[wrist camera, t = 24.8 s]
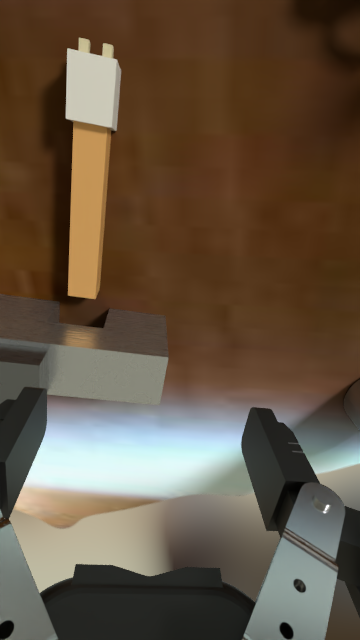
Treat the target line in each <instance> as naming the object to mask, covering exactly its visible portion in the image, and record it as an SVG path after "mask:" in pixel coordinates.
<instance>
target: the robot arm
mask: <svg viewBox="0 0 360 640" xmlns="http://www.w3.org/2000/svg"><path fill="white" fill-rule="evenodd" d="M344 410H345V412H346V413H347V415H348V416H349V417H350V419H351V420H352V421H353V423H354V424H355V425H356V427H357V428H358V429H359V430H360V380H358V381H357V382H356V383H354V384H353V385H352V386H351V388H350V389H349V390H348V392H347V393H346V395H345V398H344ZM46 424H47V390H46V388H35V387H24V388H23V389H22V391H21V393H20V394H19V396H18V397H17V399H16V400H13V399H6V400H5V401H4V402H2V403H1V404H0V640H325V635H326V630H327V625H328V620H329V615H330V610H331V604H332V599H333V594H334V588H335V583H336V579H340V580H342V581H345V583H346V586H347V588H348V590H349V593H350V595H351V598H352V600H353V603H354V605H355V607H356V610H357V612H358V615H359V617H360V511H357V510H355V509H352V508H349V507H346V506H344V504H343V502H342V500H341V499H340V498H339V496H338V495H337V494H336V493H335V492H334V491H332V490H331V489H329V488H328V487H326V486H324V485H322V484H320V482H319V481H318V479H317V477H316V475H315V473H314V471H313V469H312V467H311V465H310V463H309V462H308V460H307V458H306V456H305V454H304V453H303V450H302V448H301V447H300V445H298V441H297V439H296V437H295V435H294V433H293V432H292V431H291V430H290V429H289V428H288V427H287V426H286V425H285V424H284V423H280V422H278V421H277V419H276V417H275V415H274V413H273V411H272V410H271V409H266V408H255V407H252V408H251V409H250V412H249V415H248V419H247V422H246V425H245V429H244V432H243V436H242V442H241V447H242V453H243V457H244V460H245V463H246V466H247V469H248V473H249V476H250V479H251V482H252V486H253V489H254V492H255V495H256V498H257V502H258V505H259V508H260V511H261V514H262V518H263V521H264V524H265V527H266V530H267V531H278V532H279V535H280V541H279V543H278V545H277V548H276V551H275V553H274V556H273V558H272V561H271V564H270V566H269V568H268V571H267V573H266V576H265V579H264V581H263V583H262V586H261V588H260V591H259V594H258V596H257V599H256V601H255V602H254V601H253V600H252V599H251V598H249V597H248V596H247V595H246V594H245V593H243V592H242V591H240V590H239V589H237V588H236V587H234V586H232V585H230V584H227V583H225V582H222V579H221V573H220V568H195V567H185V568H182V569H178V570H174V571H170V572H166V573H163V574H159V575H155V576H145V575H141V574H138V573H135V572H132V571H129V570H126V569H123V568H120V567H116V566H113V565H82V564H76V566H75V571H74V576H73V578H69V579H66V580H63V581H61V582H58V583H56V584H54V585H52V586H50V587H48V588H47V589H45V590H44V591H42V592H41V593H39V591H38V589H37V586H36V584H35V581H34V579H33V576H32V574H31V571H30V569H29V566H28V564H27V562H26V559H25V557H24V554H23V552H22V549H21V547H20V544H19V542H18V540H17V537H16V534H15V532H14V529H13V527H12V525H11V523H10V521H9V517H10V514H11V513H12V510H13V508H14V505H15V503H16V501H17V498H18V496H19V494H20V491H21V489H22V487H23V484H24V482H25V480H26V477H27V475H28V473H29V470H30V468H31V466H32V463H33V461H34V459H35V456H36V454H37V452H38V449H39V447H40V445H41V442H42V440H43V437H44V434H45V430H46ZM4 518H6V519H4Z"/></svg>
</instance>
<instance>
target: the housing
mask: <svg viewBox="0 0 360 640" xmlns="http://www.w3.org/2000/svg"><path fill="white" fill-rule="evenodd" d="M59 303H60V302H56V301H49V300H41V299H34V298H26V297H18V296H11V295H3V294H0V404H1V403H2V402H4V401H5V400H6V399H13V400H16V399H17V397H18V396H19V394H20V393H21V391H22V389H23V388H24V387H35V388H46V390H47V394H48V395H58V396H69V397H80V398H90V399H101V400H111V401H122V402H133V403H143V404H154V405H160V400H161V394H162V389H163V384H164V378H165V373H166V368H167V363H168V345H167V332H166V318H165V316H163V315H155V314H147V313H140V312H132V311H125V310H117V309H109V312H108V315H107V318H106V322H105V325H104V328H96V327H87V326H79V325H71V324H63V323H59Z"/></svg>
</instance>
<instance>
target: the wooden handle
mask: <svg viewBox="0 0 360 640" xmlns="http://www.w3.org/2000/svg"><path fill="white" fill-rule="evenodd" d="M113 51H114V48H113V45H109V44H105V43H103V54H102V56H99V55H94V54H90V41H89V40H87V39H83V38H79V51H77V50H72V49H68V48H67V84H66V119H68V120H70V121H72V122H73V152H72V183H71V214H70V244H69V275H68V296H75V297H82V298H90V299H96V297H97V294H98V292H99V289H100V276H101V263H102V249H103V236H104V222H105V209H106V195H107V182H108V168H109V155H110V141H111V130H112V131H116V129H117V117H118V104H119V92H120V79H121V69H120V67H119V64H118V61H117V59H113Z"/></svg>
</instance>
